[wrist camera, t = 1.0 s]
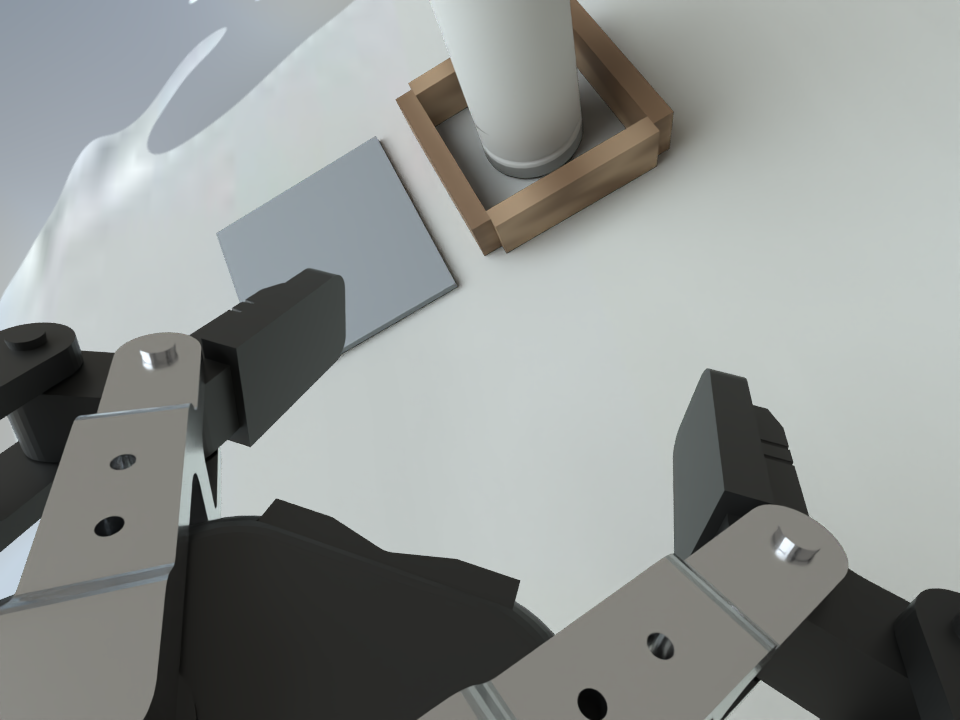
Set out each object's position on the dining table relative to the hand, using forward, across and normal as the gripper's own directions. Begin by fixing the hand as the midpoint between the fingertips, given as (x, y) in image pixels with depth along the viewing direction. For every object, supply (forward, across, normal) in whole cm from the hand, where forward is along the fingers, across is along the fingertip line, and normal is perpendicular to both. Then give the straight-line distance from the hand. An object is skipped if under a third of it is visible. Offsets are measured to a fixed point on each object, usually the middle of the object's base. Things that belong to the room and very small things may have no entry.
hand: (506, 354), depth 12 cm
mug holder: (+26, +5, 0) cm, 26 cm away
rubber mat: (+20, +16, +9) cm, 26 cm away
